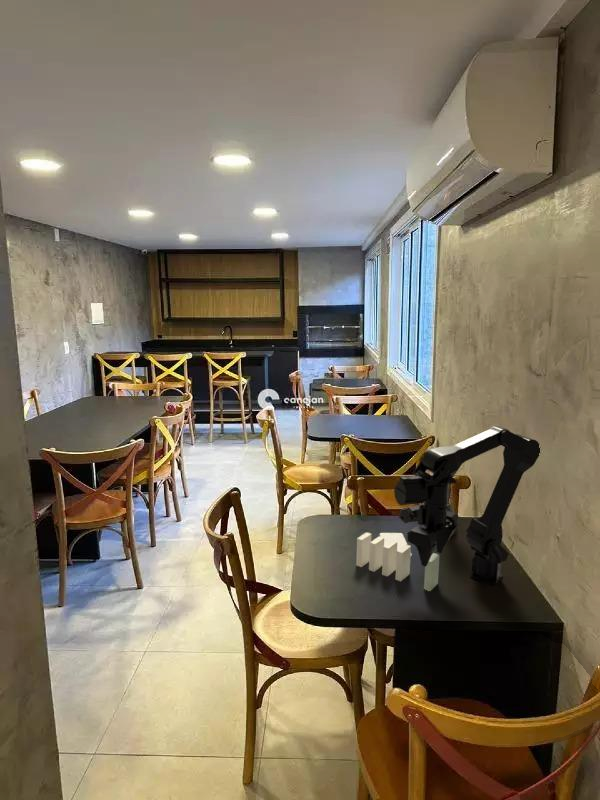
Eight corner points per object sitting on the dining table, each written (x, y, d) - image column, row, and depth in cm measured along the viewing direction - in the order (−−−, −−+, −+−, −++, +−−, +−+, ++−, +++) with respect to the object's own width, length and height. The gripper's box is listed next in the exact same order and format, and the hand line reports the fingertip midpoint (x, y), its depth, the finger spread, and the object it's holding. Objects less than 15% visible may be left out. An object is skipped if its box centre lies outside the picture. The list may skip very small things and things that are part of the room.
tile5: (370, 560, 150) (371, 533, 148) (361, 567, 146) (362, 539, 144) (365, 558, 151) (366, 532, 149) (356, 565, 147) (357, 538, 145)
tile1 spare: (437, 583, 138) (439, 554, 136) (429, 591, 134) (431, 562, 133) (432, 581, 139) (433, 553, 137) (423, 589, 135) (425, 560, 133)
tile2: (409, 573, 143) (411, 546, 141) (400, 581, 139) (402, 552, 137) (404, 572, 144) (405, 544, 142) (395, 579, 140) (396, 551, 138)
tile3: (396, 569, 145) (397, 541, 144) (387, 576, 141) (388, 548, 140) (390, 567, 146) (392, 540, 145) (381, 574, 142) (383, 546, 141)
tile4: (383, 564, 147) (384, 537, 146) (374, 571, 144) (375, 544, 142) (378, 563, 148) (379, 536, 147) (368, 570, 144) (369, 542, 143)
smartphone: (387, 555, 152) (379, 532, 167) (386, 558, 152) (378, 535, 167) (412, 555, 152) (402, 532, 167) (412, 558, 153) (402, 535, 167)
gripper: (421, 483, 144) (418, 537, 147) (388, 503, 130) (385, 563, 132) (461, 493, 138) (457, 549, 140) (431, 515, 123) (427, 577, 126)
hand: (431, 559), depth 135 cm, fingers open, 9 cm apart
